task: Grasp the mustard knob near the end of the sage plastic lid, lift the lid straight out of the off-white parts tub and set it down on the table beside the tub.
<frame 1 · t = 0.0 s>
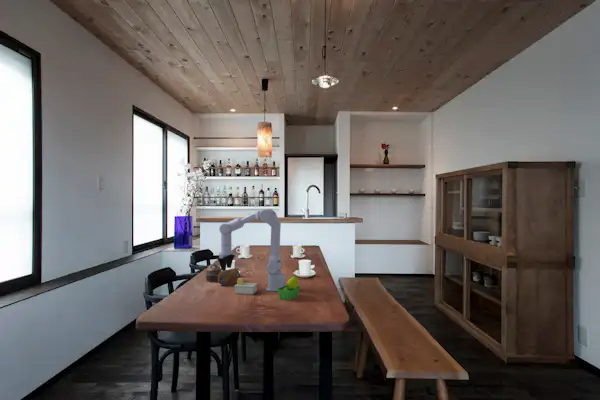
hand: (226, 269, 200), 10 cm above the table, tool pointing down, fingers open, 7 cm apart
tub: (246, 292, 188), on the table
fruit basket: (290, 298, 178), on the table
lid: (246, 285, 188), point 3 cm above the table, touching tub
cupcake: (213, 281, 215), on the table
tin: (228, 284, 208), on the table
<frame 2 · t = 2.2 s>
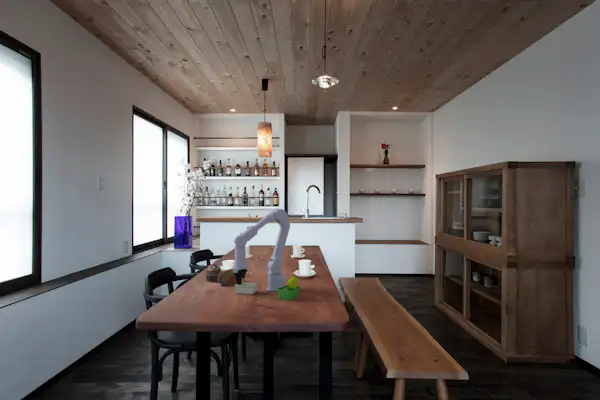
hand: (240, 283, 188), 5 cm above the table, tool pointing down, fingers closed on lid, 3 cm apart
lid: (246, 285, 188), point 3 cm above the table, touching gripper, tub
everything else where it was.
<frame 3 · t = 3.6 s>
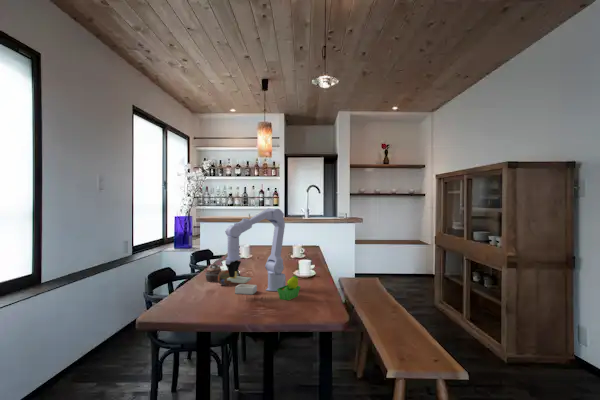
hand: (233, 276, 179), 11 cm above the table, tool pointing down, fingers closed on lid, 3 cm apart
lid: (239, 279, 179), point 9 cm above the table, touching gripper
everything else where it was.
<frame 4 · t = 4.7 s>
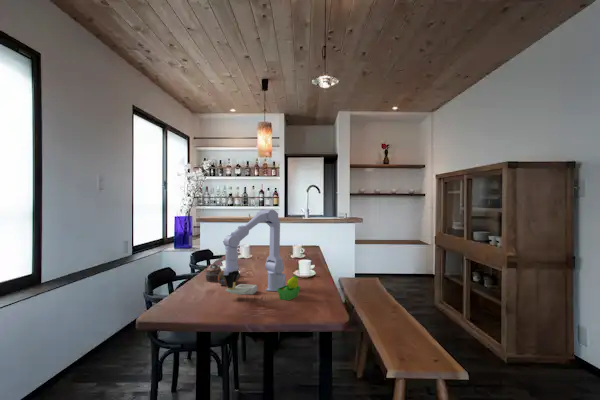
hand: (231, 286, 177), 6 cm above the table, tool pointing down, fingers closed on lid, 3 cm apart
lid: (237, 290, 176), point 4 cm above the table, touching gripper
everything else where it was.
when the fingers open (3 cm above the table, at t = 5.5 s): lid stays where it is, point 1 cm above the table.
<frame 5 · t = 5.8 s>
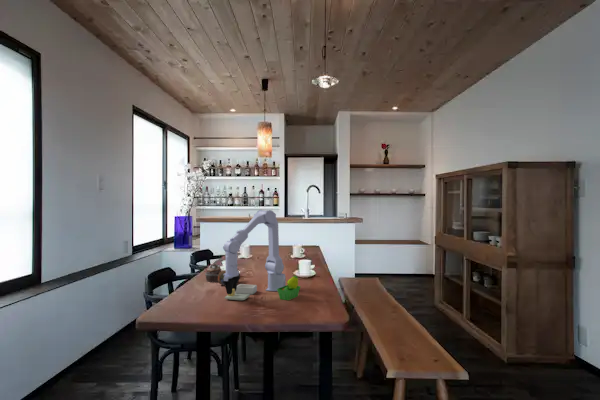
hand: (231, 292, 177), 3 cm above the table, tool pointing down, fingers open, 5 cm apart
lid: (237, 297, 176), point 1 cm above the table
everything else where it was.
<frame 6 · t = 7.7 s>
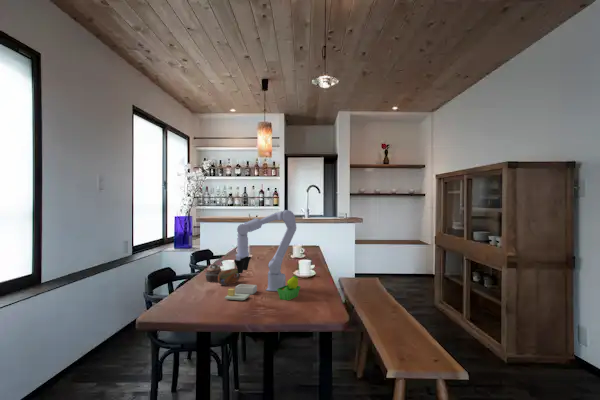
hand: (242, 271, 191), 10 cm above the table, tool pointing down, fingers open, 7 cm apart
nothing on the table moved.
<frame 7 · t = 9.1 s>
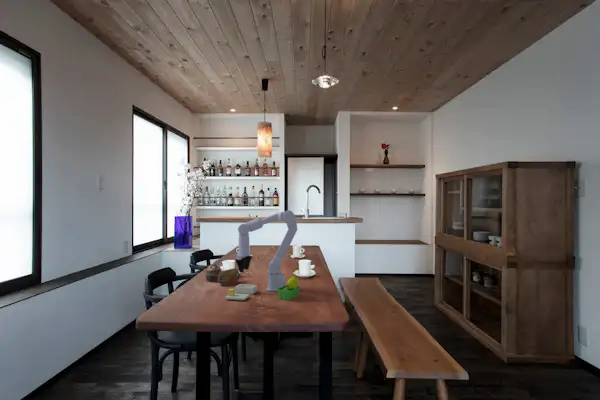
hand: (244, 270, 193), 10 cm above the table, tool pointing down, fingers open, 7 cm apart
nothing on the table moved.
at the end: lid inside the target area (0.5 cm from its centre), point 0.8 cm above the table; lid point 0.8 cm above the table; lid touching table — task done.
